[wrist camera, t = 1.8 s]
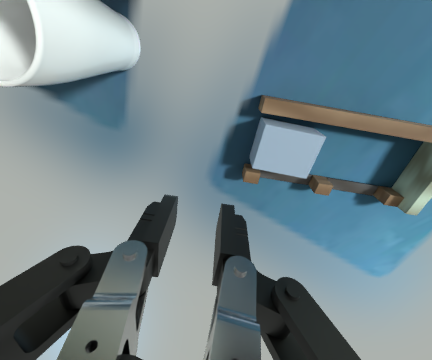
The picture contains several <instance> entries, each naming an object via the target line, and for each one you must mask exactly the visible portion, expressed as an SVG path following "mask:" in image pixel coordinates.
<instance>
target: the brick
mask: <svg viewBox="0 0 432 360" xmlns="http://www.w3.org/2000/svg"><path fill="white" fill-rule="evenodd" d="M325 139H326V136H324V135H323V134H321V133H320V132H318V131H317V130H316V129H314V128H311V127H306V126H301V125H296V124H292V123H287V122H282V121H277V120H273V119H268V118H263V117H261V119H260V122H259V125H258V129H257V132H256V136H255V139H254V142H253V146H252V149H251V152H250V156H249V157H250V161H251V165H252V168H254V169H259V170H264V171H269V172H274V173H279V174H285V175H290V176H295V177H300V178H305V179H306V178H307V176H308V174H309V172H310V170H311V168H312V166H313V164H314V162H315V160H316V157H317V155H318V153H319V151H320V149H321V147H322V145H323V143H324V141H325Z"/></svg>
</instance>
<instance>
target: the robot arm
mask: <svg viewBox="0 0 432 360" xmlns="http://www.w3.org/2000/svg"><path fill="white" fill-rule="evenodd" d="M177 204H178V197H177V196H171V195H164V197H163V199H162V201H161V203H159V202H153V203H151V204H150V205H149V206H147V208H146V210H145V211H144V213H143V215H142V216H141V218H140V220H139V222H138V223H137V225H136V227H135V228H134V230H133V232H132V234H131V235H130V237H129V239H128V240H127V241H126V242H123V243H121V244H119V245H118V246H117V247H116V248H115V249H114V251H111V252H106V253H98V254H90V251H89V250H88V249H87V248H86V247H83V246H71V247H67V248H64V249H62V250H60V251H58V252H57V253H55V254H53V255H52V256H50V257H48V258H47V259H45V260H43V261H42V262H40V263H38V264H36V265H35V266H33V267H31V268H30V269H28V270H26V271H25V272H23V273H21V274H20V275H18V276H16V277H14V278H13V279H11V280H9V281H8V282H6V283H4V284H3V285H1V286H0V360H36V359H37V358H38V357H39V356H40V355H41V354H42V353H44V352H45V351H46V350H47V349H48V348H49V347H50V346H51V345H52V344H53V343H55V342H56V341H57V340H58V339H59V338H60V337H61V336H62V335H63V334H64V333H66V332H67V331H68V330H69V329H70V328H71V327H72V328H71V330H70V332H69V334H68V336H67V339H66V341H65V343H64V345H63V347H62V349H61V351H60V354H59V356H58V358H57V360H142V359H140V358H138V357H136V352H137V345H138V336H139V331H140V326H141V321H142V316H143V312H144V307H145V302H146V297H147V292H148V286H149V284H150V281H151V278H152V277H158V275H159V272H160V269H161V266H162V263H163V260H164V257H165V254H166V251H167V248H168V245H169V242H170V239H171V236H172V233H173V230H174V227H175V223H176V217H177V216H176V215H177ZM212 285H214V286H217V296H216V299H215V304H214V310H213V315H212V320H211V325H210V330H209V335H208V341H207V346H206V350H205V354H204V359H203V360H261V336H262V338H263V340H264V342H265V344H266V346H267V348H268V350H269V352H270V354H271V355H272V358H273V360H361V359H360V358H359V357H358V355H357V354H356V353H355V351H354V350H353V349H352V348H351V346H350V345H349V344H348V342H347V341H346V340H345V339H344V337H343V336H342V335H341V334H340V332H339V331H338V330H337V328H336V327H335V326H334V325H333V323H332V322H331V321H330V320H329V318H328V317H327V316H326V314H325V313H324V312H323V311H322V309H321V308H320V307H319V305H318V304H317V303H316V302H315V300H314V299H313V298H312V297H311V295H310V294H309V293H308V291H307V290H306V289H305V288H304V287H303V285H302V284H300V283H299V282H298V281H296V280H294V279H292V278H288V277H282V278H280V279H278V281H275V280H272V279H270V278H268V277H266V276H264V275H262V274H261V273H259V272H258V271H257V270H256V268H255V266H254V264H253V263H252V262H251V258H250V250H249V242H248V234H247V226H246V221H245V220H244V218H243V217H242V216H241V215H235V210H234V205H227V204H221V208H220V213H219V218H218V223H217V228H216V239H215V252H214V267H213V281H212Z"/></svg>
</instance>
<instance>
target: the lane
mask: <svg viewBox="0 0 432 360" xmlns="http://www.w3.org/2000/svg"><path fill="white" fill-rule="evenodd" d="M258 109H259V110H260V111H261V113H266V114H272V115H278V116H283V117H289V118H295V119H300V120H306V121H312V122H317V123H323V124H329V125H334V126H340V127H346V128H351V129H357V130H363V131H368V132H374V133H380V134H385V135H391V136H397V137H402V138H408V139H414V140H419V141H424V142H423V144H422V145H421V146H420V148H419V149H418V151H417V152H416V154H415V155H414V156H413V158H412V159H411V161H410V162H409V164H408V165H407V166H406V168H405V169H404V171H403V172H402V174H401V175H400V176H399V178H398V179H397V181H396V182H395V184H394V185H393V186H392V188H389V187H383V186H377V185H371V184H365V183H359V182H353V181H347V180H341V179H335V178H329V177H327V178H326V177H323V176H317V175H311V174H308V176H307V178H306V179H305V178H300V177H295V176H290V175H285V174H279V173H274V172H269V171H264V170H259V169H254V168H252V165H251V164H244V168H243V172H242V176H243V182H249V183H255V184H258V181H259V178H260V177H262V178H269V179H275V180H281V181H287V182H293V183H299V184H305V185H309V186H310V188H311V189H312V191H313V192H314V193H316V194H322V195H329V194H330V192H331V190H332V189H335V190H341V191H347V192H353V193H359V194H365V195H371V196H374V197H376V198H377V199H378V200H379V201H380V202H381V203H382V204H384V205H389V206H395V207H398V208H399V209H401V210H402V211H403V212H404V213H406V214H411V215H417V214H418V213H419V212H420V211H421V210H422V208H423V207H424V206H425V205H426V204H427V202H428V201H429V200H430V199H431V198H432V125H426V124H421V123H415V122H409V121H404V120H398V119H393V118H387V117H382V116H376V115H370V114H365V113H359V112H354V111H348V110H343V109H337V108H331V107H326V106H320V105H315V104H309V103H304V102H298V101H292V100H287V99H281V98H276V97H270V96H265V95H262V96H261V100H260V104H259V108H258ZM310 178H311V179H310ZM309 180H310V181H309Z"/></svg>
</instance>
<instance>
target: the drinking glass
mask: <svg viewBox="0 0 432 360" xmlns="http://www.w3.org/2000/svg"><path fill="white" fill-rule="evenodd" d="M140 52H141V44H140V39H139V35H138V33H137V31H136V29H135V27H134V26H133V24H132V23H131V22H130V21H129V20H128V19H127V18H126V17H125V16H123V15H122V14H120V13H118V12H116V11H114V10H113V9H111V8H110V7H109V6H107V5H106V4H104V3H103V2H102V1H100V0H0V87H23V86H43V85H53V84H61V83H67V82H72V81H76V80H81V79H85V78H89V77H93V76H97V75H101V74H106V73H110V72H114V71H124V70H128V69H130V68H132V67H133V66H134V65H135V64H136V63H137V61H138V59H139V57H140Z"/></svg>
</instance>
